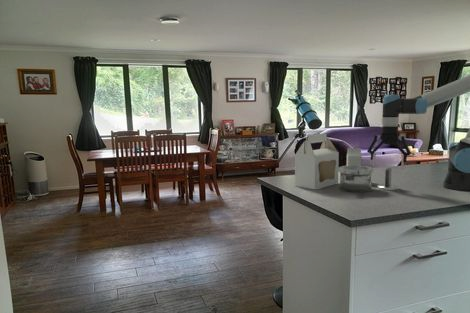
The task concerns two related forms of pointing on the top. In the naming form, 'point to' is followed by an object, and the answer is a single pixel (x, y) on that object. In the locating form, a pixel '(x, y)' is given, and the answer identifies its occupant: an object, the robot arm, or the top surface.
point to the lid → (388, 182)
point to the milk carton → (354, 156)
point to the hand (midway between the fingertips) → (387, 167)
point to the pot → (355, 178)
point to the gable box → (316, 163)
